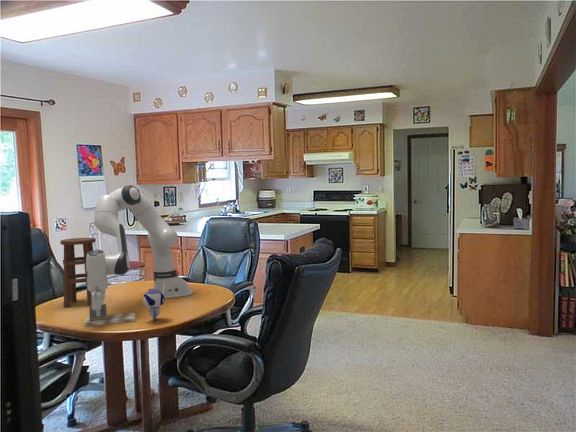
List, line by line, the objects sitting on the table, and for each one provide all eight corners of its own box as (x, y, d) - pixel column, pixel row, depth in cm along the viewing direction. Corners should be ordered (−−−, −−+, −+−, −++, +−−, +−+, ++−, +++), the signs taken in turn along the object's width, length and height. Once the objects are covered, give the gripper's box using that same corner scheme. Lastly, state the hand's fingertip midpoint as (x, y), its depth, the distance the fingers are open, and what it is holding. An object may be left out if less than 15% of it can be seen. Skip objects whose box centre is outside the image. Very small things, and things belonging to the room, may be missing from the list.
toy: (163, 323, 219) (162, 290, 218) (141, 324, 218) (139, 291, 217) (167, 316, 229) (166, 285, 228) (146, 317, 229) (145, 286, 227)
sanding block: (106, 316, 226) (106, 304, 226) (106, 318, 223) (105, 306, 222) (90, 318, 224) (90, 305, 224) (90, 320, 221) (89, 307, 220)
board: (135, 315, 233) (135, 312, 233) (134, 321, 223) (134, 318, 223) (87, 320, 227) (86, 317, 227) (84, 326, 217) (83, 323, 217)
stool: (84, 236, 272) (105, 238, 260) (88, 297, 274) (108, 301, 263) (50, 240, 256) (71, 242, 244) (55, 305, 258) (75, 310, 247)
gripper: (102, 289, 213) (104, 320, 214) (106, 280, 233) (108, 308, 234) (87, 290, 212) (89, 321, 213) (92, 281, 231) (94, 309, 232)
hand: (99, 314), depth 223 cm, fingers closed on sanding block, 3 cm apart
